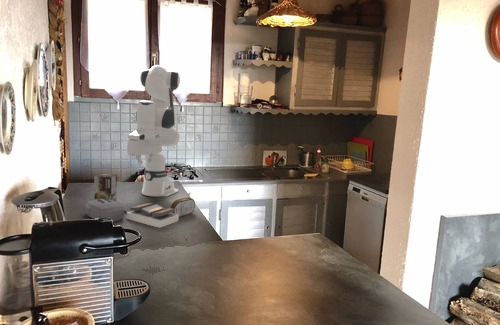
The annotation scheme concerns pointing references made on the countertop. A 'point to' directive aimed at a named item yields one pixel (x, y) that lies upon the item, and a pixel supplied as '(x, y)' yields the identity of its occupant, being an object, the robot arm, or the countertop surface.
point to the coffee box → (105, 186)
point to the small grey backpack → (104, 209)
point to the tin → (183, 206)
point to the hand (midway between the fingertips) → (144, 163)
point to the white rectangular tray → (152, 218)
